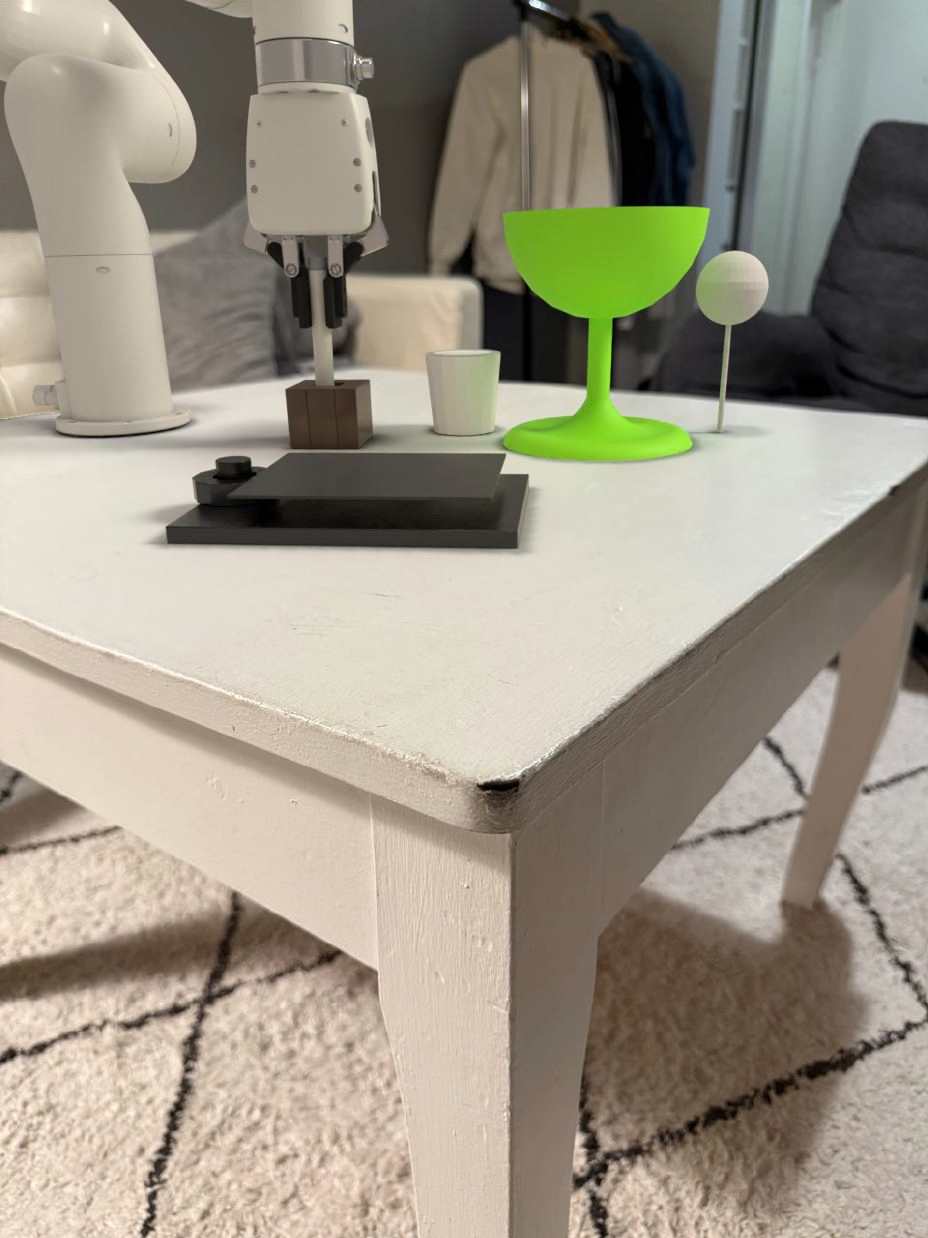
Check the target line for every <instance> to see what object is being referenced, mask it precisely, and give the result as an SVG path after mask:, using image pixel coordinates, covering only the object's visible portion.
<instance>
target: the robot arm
mask: <svg viewBox="0 0 928 1238" xmlns="http://www.w3.org/2000/svg"><path fill="white" fill-rule="evenodd" d="M185 1H186V2H188V3H191V4H195V5H198V6H200V7H203V8H204V9H207V10H211V11H214V12H217V13H220V14H222V15H226V16H230V17H234V18H241V19H245V18H246V19H247V18H252V29H253V30H252V31H253V41H254V42H253V43H254V57H255V70H256V71H255V72H256V85H257V94H252V95H250V97H249V98H250V99H249V105H248V116H247V129H246V146H245V147H246V150H245V161H246V163H245V174H246V175H245V176H246V177H245V178H246V181H245V182H246V201H247V203H246V204H247V212H248V219H247V223H246V226H245V230H244V235H243V238H242V241H243V244H244V246H246V247H247V248H249V249H252V250H254V251H256V252H259V253H261V254H263V255H264V254H265V255H267V256H269V257H270V258H271V259H272V260H274V262H275V263H276V264H277V265H278V266H279V267H280V268H281V269H282V270H283V272H284V273H285V275H286V276H287V277H289V278H290V291H291V293H290V294H291V307H292V309H291V310H292V315H293V317H294V318H297V319H298V327H299V330H300V329H303V330H304V329H306V330H307V329H310V328H312V319H311V303H310V288H309V272H308V271H309V270H308V257H307V249H306V236H314V237H316V236H327V262H328V269H327V277H325V279H323V291H324V308H325V325H326V327H328V329H331V330H336V329H338V328H342V327H343V319H346V318H347V317H348V313H349V311H348V309H349V307H348V289H347V276H349V274H350V273H351V271H352V270H353V269H354V267H356V265H357V264H358V263H359V262H360V261H361V259H363V257H364V256H366V255H368V254H371V253H373V252H376V251H378V250H380V249H381V250H382V249H383V248H385V247H387V246H388V245H389V243H390V237H389V234H388V233H387V230H386V227H385V224H384V222H383V219H382V215H381V214H382V213H381V207H382V206H381V193H380V181H379V169H378V161H377V160H378V159H377V150H376V141H375V135H374V127H373V122H372V117H371V111H370V106H369V103H368V102H369V101H368V99H367V97H365V96H363V95H361V94H358V93H357V91H359V85H360V84H361V81H364V80H365V79H373V78H374V76H375V65H374V59H373V57H363V55H359V54H358V53H357V51H356V50H355V36H354V34H355V33H354V13H353V11H354V10H353V9H354V8H353V0H185ZM0 81H2V82H6V83H5V88H4V93H3V109H4V116H5V121H6V126H7V129H8V133H9V136H10V138H11V142H12V145H13V147H14V150H15V153H16V155H17V157H18V161H19V163H20V166H21V169H22V172H23V174H24V178H25V181H26V184H27V188H28V191H29V194H30V198H31V202H32V206H33V211H34V215H35V221H36V225H37V230H38V235H39V236H38V237H39V241H40V248H41V253H42V257H43V262H44V267H45V273H46V279H47V285H48V289H49V296H50V301H51V307H52V308H51V309H52V312H53V313H52V314H53V319H54V325H55V330H56V335H57V341H58V346H59V352H60V358H61V364H62V371H63V376H64V379H61V380H58V381H55V382H54V384H35V386H34V387H33V389H32V395H31V397H32V402H33V404H34V405H35V406H41V407H43V406H56V407H58V410H59V415H58V416H57V417H55V418H54V425H55V429H56V430H57V431H58V432H59V433H62V434H66V435H74V436H91V437H92V436H94V437H96V436H97V437H99V436H101V437H102V436H103V437H104V436H121V435H134V434H135V435H137V434H143V433H152V432H159V431H165V430H170V429H174V428H178V427H181V426H184V425H186V424H188V423H189V422H191V419H192V418H191V410H190V409H189V408H188V407H186V406H181V405H174V403H173V395H172V388H171V382H170V373H169V367H168V366H169V365H168V358H167V352H166V343H165V336H164V330H163V322H162V315H161V314H162V313H161V307H160V300H159V291H158V284H157V278H156V277H157V276H156V271H155V270H156V269H155V262H154V255H153V249H152V242H151V235H150V232H149V227H148V224H147V221H146V218H145V215H144V212H143V209H142V207H141V205H140V203H139V201H138V199H137V197H136V195H135V193H134V192H133V190H132V188H131V186H130V183H137V184H163V183H169V182H171V181H174V180H176V179H179V178H180V177H181V176H183V174H185V173H186V171H187V170H188V169H189V168H190V166H191V165H192V162H193V161H194V158H195V155H196V150H197V129H196V123H195V119H194V115H193V113H192V109H191V107H190V105H189V103H188V101H187V99H186V97H185V95H184V94H183V92H182V91H181V89H180V87H179V86H178V85H177V83H176V82H175V81H174V79H173V77H172V76H171V75H170V74H169V72H168V71H167V70H166V69H165V68H164V66H163V65H162V63H160V61H159V60H158V58H157V57H156V56H155V54H154V53H153V52H152V51H151V50H150V48H149V47H148V45H147V44H146V42H144V40H143V39H142V38H141V37H140V35H139V34H138V32H136V30H135V29H134V28H133V26H132V25H131V24H130V23H129V21H128V20H127V19H126V18H125V16H124V15H123V14H122V13H121V11H120V10H119V9H118V8H117V7H116V6H115V5H114V4H113V3H112V2H111V1H110V0H0ZM268 235H270V236H271V235H272V236H280V239H281V240H280V241H278V240H275V239H273V238H271V237H269V236H268ZM362 235H363V237H361V238H358V239H356V240H354V241H351V236H362Z"/></svg>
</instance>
